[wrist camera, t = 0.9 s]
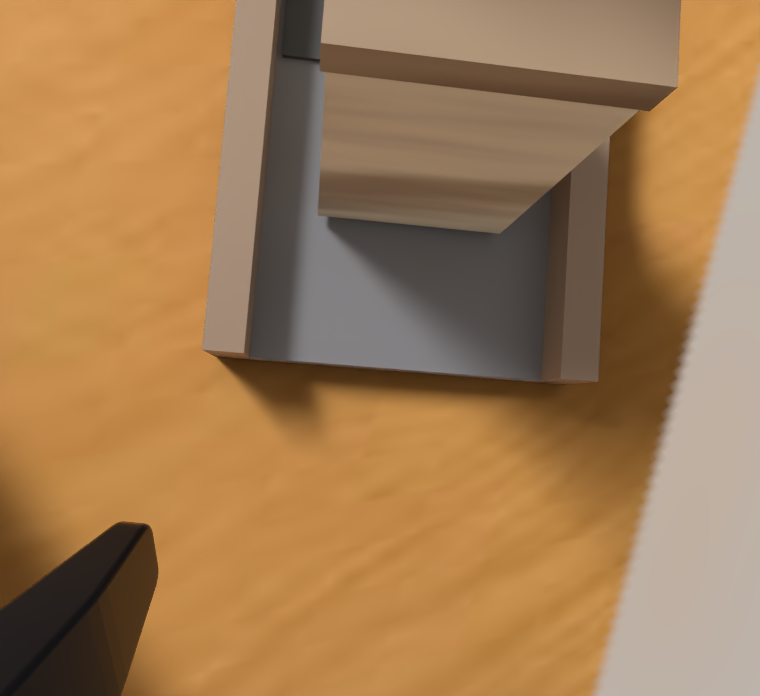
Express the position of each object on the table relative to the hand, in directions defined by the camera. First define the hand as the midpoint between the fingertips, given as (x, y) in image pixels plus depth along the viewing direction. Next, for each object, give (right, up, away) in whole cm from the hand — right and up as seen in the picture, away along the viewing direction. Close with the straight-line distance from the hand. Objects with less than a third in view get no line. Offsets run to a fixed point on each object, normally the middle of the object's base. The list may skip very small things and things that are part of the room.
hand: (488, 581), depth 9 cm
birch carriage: (0, +10, +14) cm, 17 cm away
